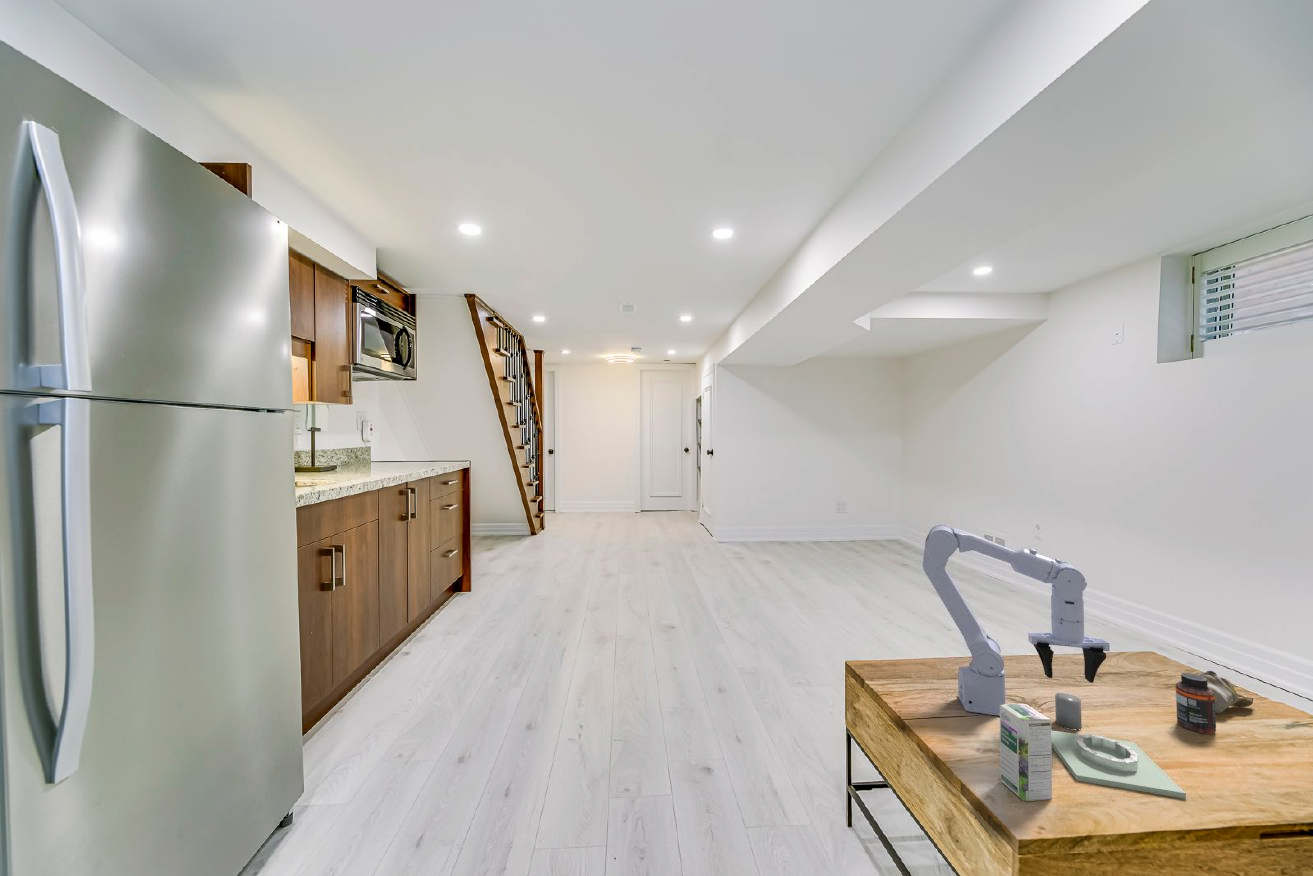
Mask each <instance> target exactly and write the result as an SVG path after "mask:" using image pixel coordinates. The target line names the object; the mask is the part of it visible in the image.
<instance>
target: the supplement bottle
mask: <svg viewBox="0 0 1313 876" xmlns="http://www.w3.org/2000/svg"><path fill="white" fill-rule="evenodd" d="M1180 677H1181V680H1180V681H1178V682H1177V683H1176V684H1175V700H1176V701H1175V702H1176V706H1175V707H1176V722H1177V723H1178V724H1179V725H1180V726H1181V727H1183V728H1185V729H1187V730H1189V731H1192V732H1194V733H1195V732H1196V733H1200V734H1205V735H1206V734H1209V735H1212V734H1214V733H1216V732H1217V719H1216V718H1217V717H1216V713H1215V696H1214V692H1213V691H1212V690H1211V689H1210V688H1208V687H1207V685H1208V684H1207V679H1206V678H1205V677H1203V676H1200V674H1197V673H1192V672H1182V673H1181V674H1180Z"/></svg>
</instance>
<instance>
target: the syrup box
mask: <svg viewBox="0 0 1313 876" xmlns="http://www.w3.org/2000/svg"><path fill="white" fill-rule="evenodd" d="M1051 730H1052V719H1051V718H1049V717H1047V716H1045V715H1044V714H1043V713H1040V712H1039V711H1038V710H1036V709H1034V708H1033V707H1031V706H1029V705H1028V704H1027V703H1014V702H1013V703H1005V704H1004V705H1000V716H999V735H1000V736H999V738H1000V739H999V743H1000V745H999V747H1000V749H999V750H1000V752H999V753H1000V754H999V756H1000V758H999V759H1000V761H999V762H1000V765H999V767H1000V771H999V772H1000V773H999V774H1000V776H999V778H1000V782H1001V783H1002V784H1004V785H1005V786H1006V787H1007V788H1008V789H1009V790H1011V792H1012V793H1014V794H1016V796H1017V797H1019V798H1020V799H1021V800H1022V801H1023V802H1033V801H1034V802H1036V801H1045V800H1052V799H1053V783H1052V782H1053V779H1052V778H1053V775H1052V774H1053V772H1052V771H1053V769H1052V768H1053V767H1052V764H1053V763H1052V762H1053V761H1052V759H1053V758H1052V746H1051Z"/></svg>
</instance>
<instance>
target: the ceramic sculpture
mask: <svg viewBox="0 0 1313 876" xmlns="http://www.w3.org/2000/svg"><path fill="white" fill-rule="evenodd" d="M1199 675H1200V676H1203V677H1205V678H1206V679H1207V684H1208V685H1207V687H1208V688H1210V689H1211V690H1212V691H1213V692H1214V696H1215V714H1221V713H1223V712H1224V711H1225V710H1226V709H1227V708H1228V707H1237V708H1248V707H1250V706H1252V705H1253V704H1254V698H1253V697H1248V696H1247V697H1246V696H1244V695H1241V694H1239V693H1238V692H1237V691H1236V689H1235V686H1234V685H1233V684H1232V682H1231V681H1229V680H1228V679H1227V678H1226V677H1223V676H1220V675H1218V674H1217V672H1215V671H1213V670H1207V671H1205V672H1204V671H1203V672H1201V673H1199Z"/></svg>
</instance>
